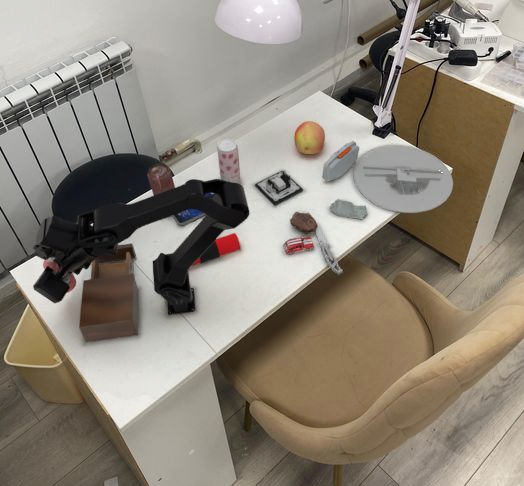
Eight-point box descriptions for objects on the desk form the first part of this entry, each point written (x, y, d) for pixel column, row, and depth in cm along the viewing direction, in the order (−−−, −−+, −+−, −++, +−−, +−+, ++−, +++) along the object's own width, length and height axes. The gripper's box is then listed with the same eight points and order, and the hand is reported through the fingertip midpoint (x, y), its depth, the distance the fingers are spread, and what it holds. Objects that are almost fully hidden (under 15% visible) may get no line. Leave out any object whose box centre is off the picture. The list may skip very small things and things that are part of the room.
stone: (298, 215, 151) (296, 207, 149) (323, 220, 148) (321, 212, 146) (288, 232, 147) (286, 224, 145) (313, 238, 144) (311, 229, 142)
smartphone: (228, 203, 154) (179, 225, 148) (228, 205, 154) (179, 227, 149) (215, 187, 158) (167, 208, 153) (215, 189, 159) (168, 210, 153)
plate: (448, 149, 168) (449, 146, 167) (456, 217, 148) (457, 214, 148) (355, 142, 172) (355, 139, 171) (351, 208, 152) (351, 205, 151)
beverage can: (244, 184, 160) (241, 145, 149) (229, 194, 158) (225, 154, 147) (232, 174, 163) (229, 135, 153) (217, 183, 161) (212, 143, 150)
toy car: (314, 249, 143) (315, 242, 140) (285, 256, 141) (285, 249, 139) (310, 238, 145) (311, 231, 142) (281, 245, 143) (281, 238, 141)
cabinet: (90, 296, 134) (83, 280, 130) (138, 289, 135) (133, 273, 131) (86, 342, 125) (78, 327, 121) (138, 335, 126) (132, 319, 122)
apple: (284, 142, 164) (291, 121, 170) (300, 164, 169) (307, 142, 175) (312, 133, 159) (318, 111, 165) (328, 156, 164) (333, 134, 170)
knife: (321, 219, 148) (310, 221, 147) (343, 271, 136) (332, 273, 135) (320, 223, 149) (310, 225, 148) (342, 275, 137) (331, 277, 136)
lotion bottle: (75, 292, 127) (60, 261, 118) (53, 295, 126) (36, 264, 118) (77, 274, 130) (63, 243, 122) (55, 277, 130) (40, 246, 122)
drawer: (95, 256, 142) (90, 245, 138) (136, 251, 143) (132, 239, 139) (91, 298, 133) (86, 286, 129) (135, 292, 134) (131, 280, 130)
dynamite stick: (241, 253, 142) (166, 280, 137) (235, 242, 145) (161, 268, 140) (239, 239, 139) (162, 265, 134) (233, 228, 142) (157, 253, 138)
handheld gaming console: (351, 157, 167) (353, 136, 161) (359, 161, 165) (361, 141, 160) (320, 182, 160) (322, 161, 154) (328, 187, 158) (330, 166, 152)
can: (159, 219, 151) (148, 180, 142) (157, 204, 156) (145, 165, 146) (181, 213, 152) (171, 174, 143) (178, 198, 156) (168, 160, 147)
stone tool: (332, 198, 154) (327, 214, 152) (332, 196, 152) (327, 212, 151) (369, 208, 152) (364, 224, 150) (369, 205, 150) (365, 221, 148)
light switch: (254, 185, 160) (274, 205, 154) (253, 175, 157) (274, 195, 151) (282, 171, 164) (303, 190, 158) (282, 161, 161) (303, 180, 155)
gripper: (76, 194, 118) (47, 219, 129) (26, 262, 106) (-2, 283, 116) (117, 226, 122) (85, 247, 132) (73, 295, 110) (42, 312, 120)
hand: (54, 270), depth 125 cm, fingers closed on lotion bottle, 5 cm apart
